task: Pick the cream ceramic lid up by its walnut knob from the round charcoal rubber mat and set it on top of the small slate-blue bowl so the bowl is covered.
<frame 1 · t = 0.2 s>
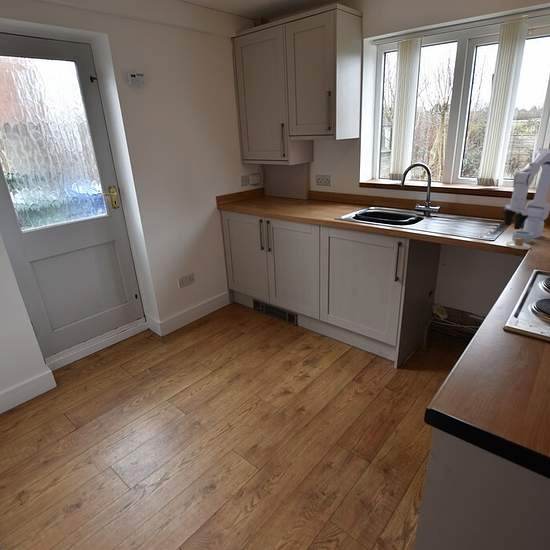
hand: (511, 227, 177), 9 cm above the worktop, tool pointing down, fingers open, 7 cm apart
lid: (518, 246, 178), on the worktop, touching mat
mat: (517, 246, 178), on the worktop
flask: (524, 227, 212), on the worktop
bowl: (521, 241, 186), on the worktop
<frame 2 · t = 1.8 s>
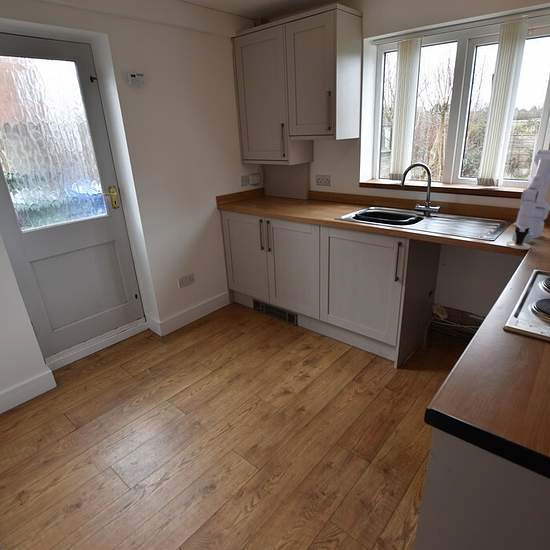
hand: (518, 243, 177), 2 cm above the worktop, tool pointing down, fingers closed on lid, 4 cm apart
lid: (518, 246, 178), on the worktop, touching gripper, mat
everything else where it was.
when the fingers open (7 cm above the worktop, at t = 4.5 s): lid stays where it is, resting on bowl.
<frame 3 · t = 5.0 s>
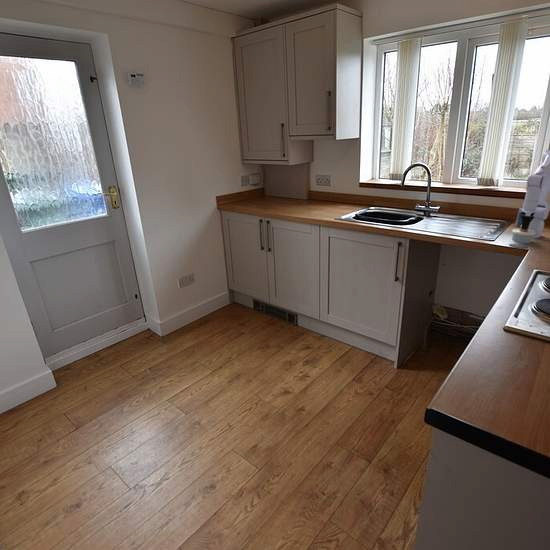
hand: (524, 227, 184), 7 cm above the worktop, tool pointing down, fingers open, 7 cm apart
lid: (523, 232, 185), point 4 cm above the worktop, touching bowl
everything else where it was.
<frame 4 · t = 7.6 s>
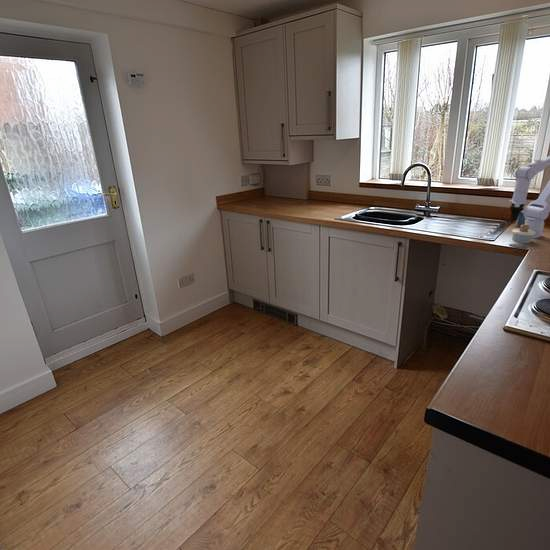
hand: (514, 219, 186), 10 cm above the worktop, tool pointing down, fingers open, 7 cm apart
nothing on the worktop moved.
at the end: lid 0.0 cm off-centre on the bowl, point 4.5 cm above the bowl's base; lid tilted 0°; the gripper is holding nothing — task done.
